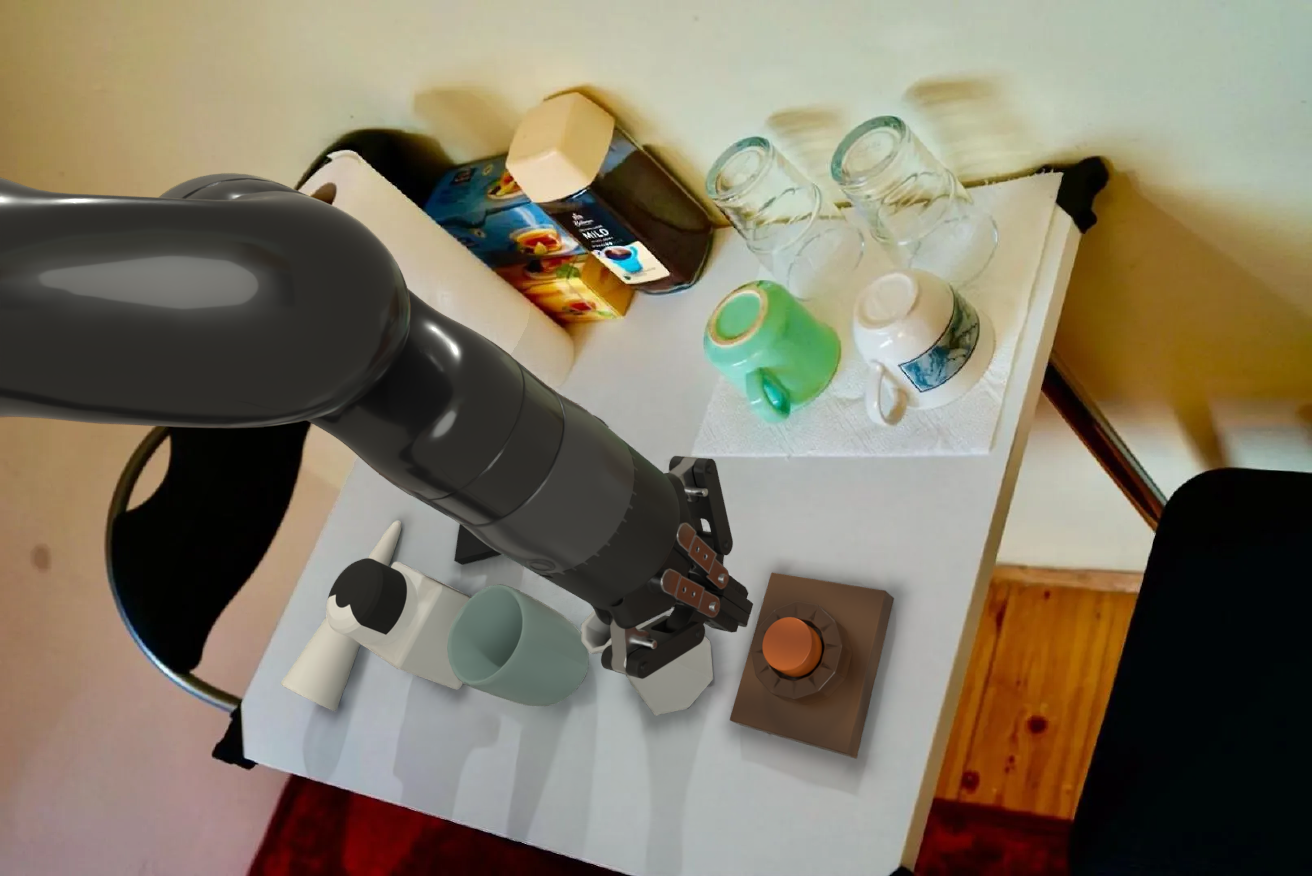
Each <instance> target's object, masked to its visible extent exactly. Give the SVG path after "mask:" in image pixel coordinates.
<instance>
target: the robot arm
mask: <svg viewBox="0 0 1312 876" xmlns="http://www.w3.org/2000/svg"><path fill="white" fill-rule="evenodd" d="M3 418H30V419H45V420H57V421H66V422H76V423H86V424H99V425H100V424H101V425H123V426H124V425H125V426H126V425H127V426H146V427H147V426H149V427H165V428H166V427H170V428H192V429H194V428H195V429H248V428H264V427H274V426H281V425H287V424H295V423H300V422H303V421H307V422H308V423H311V424H312V425H313V426H316V427H317V428H319V429H321V430H323V431H324V432H326V433H328V434H330V435H331V436H333V437H334V438H335V439H337V440H338V441H340V442H341V443H342V444H344V445H345V446H346V447H347V448H349V449H350V450H351V451H352V452H353V453H354V454H355V455H357V457H359V458H360V459H361V460H362V461H363V462H364V463H365V464H366V465H368V466H369V467H370V468H371V469H372V470H373V471H374V472H376V473H377V474H378V475H379V474H380V475H379V476H380V477H382V478H384V479H385V480H386V481H388V482H389V483H390V484H391V485H393V486H394V487H396V488H398V489H399V490H401V491H403V492H404V493H405V494H407V495H408V496H411V497H413V498H415V499H417V500H418V501H420V502H422V503H424V504H425V505H427V506H429V507H431V508H432V509H433V510H436V511H438V512H439V513H441V514H443V515H445V516H447V517H448V518H450V519H452V520H454V522H457V523H458V524H459V525H460V524H461V525H462V526H464V527H465V528H466V529H468V530H469V531H470V532H471V533H472V534H473V535H474V536H476V537H477V538H478V539H479V540H481V541H482V542H483V543H485V544H486V545H488V546H489V547H491V548H492V549H494V550H495V551H497V552H499V553H501V554H502V556H504V557H506V558H508V559H510V560H511V561H513V562H515V563H517V564H518V565H520V566H522V567H524V568H525V569H527V570H529V571H531V572H533V573H534V574H536V575H538V576H540V577H542V578H543V579H545V580H547V581H549V582H550V583H552V584H554V585H555V586H558V587H560V588H561V589H563V590H565V591H566V592H568V593H570V594H571V595H573V596H575V597H577V598H579V599H581V600H582V601H584V602H586V603H587V604H589V605H590V606H591V607H592V609H593V610H595V613H596V615H597V617H598V618H599V620H600V621H601V622H603V623H604V624H606V625H610V631H611V642H612V644H611V645H609V646H608V647H606V648H605V649H604V651H603V653H601V656H600V664H601V666H602V668H603V669H605V670H608V671H613V672H615V673H618V674H622V675H625V676H626V675H628V676H633V677H637V678H640V679H644V678H646V677H648V676H649V675H651V674H652V673H654V672H656V671H657V670H659V669H660V668H662V667H664V666H665V665H667V664H669V663H670V662H672V661H673V660H675V659H677V658H678V657H680V656H681V655H683V654H685V653H686V652H688V651H689V650H691V649H693V648H694V647H696V646H698V645H699V644H701V642H702V641H703V639H704V636H705V635H706V627H705V625H706V626H708V627H709V628H711V629H714V630H718V631H723V632H727V633H737V632H738V629H739V627H741V628H742V627H743V628H747V627H748V623H749V620H750V617H751V613H752V611H753V607H754V603H753V601H751V600H750V599H748V597H749V591H748V590H747V587H746V586H745V585H744V584H742V583H741V582H740V581H738V580H737V579H735V578H734V577H733V576H731V575H730V572H729V570H728V569H727V568H726V566H725V565H724V559H725V556H728V555H730V554H731V552H732V550H733V547H734V539H733V535H732V530H731V526H730V521H729V518H728V517H729V516H728V512H727V508H726V504H725V503H726V502H725V498H724V495H723V489H722V485H721V481H720V476H719V473H718V472H719V471H718V467H717V463H716V460H714V458H710V457H709V458H708V457H696V456H695V457H694V456H686V455H685V456H683V455H674V456H672V457H671V458H670V460H669V463H668V471H667V472H663V471H662V470H661V469H660V468H659V467H657V466H655V464H653V463H652V462H651V461H650V460H648V459H647V457H645V456H644V455H642V454H641V452H639V451H637V449H635V448H634V447H633V446H632V445H630V444H629V443H628V442H626V440H624V439H623V438H622V437H620V436H619V435H618V434H617V433H616V432H614V431H613V430H612V429H611V428H610V427H609V425H608V424H607V423H606V422H605V421H604V420H603V419H602V418H600V417H598V416H597V415H594V414H592V413H591V412H590V411H589V410H588V409H586V408H585V407H583V406H581V405H580V404H578V403H576V402H575V401H573V400H572V399H570V398H568V397H566V396H564V395H562V394H560V393H559V392H557V391H556V390H555V389H553V388H552V387H550V386H548V384H546V383H545V382H544V381H542V380H541V379H540V378H539V377H538V376H536V375H535V374H534V373H532V372H531V371H530V370H529V369H527V367H525V366H524V365H522V363H520V362H519V361H518V360H517V359H515V358H514V357H513V356H512V354H510V353H509V352H507V351H506V350H504V349H503V348H502V347H500V346H499V345H498V344H496V343H495V342H494V341H492V340H490V339H489V338H488V337H485V336H484V335H482V334H481V333H479V332H477V331H475V330H473V329H472V328H470V327H468V326H466V325H464V324H462V323H460V322H458V321H457V320H454V319H453V318H450V317H448V316H447V315H445V314H443V313H442V312H439V311H438V310H436V309H435V308H434V307H432V306H431V305H430V304H428V303H426V302H425V301H424V300H423V299H421V298H420V297H419V296H418V295H416V294H415V293H414V292H413V291H412V290H411V289H409V288H408V285H407V282H406V280H405V277H404V274H403V272H402V270H401V268H400V266H399V264H398V262H397V261H396V259H395V257H394V256H393V254H392V253H391V251H390V250H389V249H388V248H387V245H385V244H384V242H382V240H381V239H380V238H379V237H378V236H377V235H376V234H375V233H374V232H373V231H372V230H370V228H368V226H366V225H365V223H363V222H361V221H360V220H359V219H357V218H356V217H354V216H352V215H351V214H349V213H348V212H346V211H344V210H343V209H341V208H338V207H337V206H334V205H332V204H330V203H329V202H328V203H327V202H325V201H323V200H321V199H318V198H315V197H313V196H311V195H308V194H306V193H303V192H301V191H299V190H297V189H294V188H292V187H290V186H287V185H285V184H283V183H280V182H279V181H275V180H272V179H270V178H266V177H261V176H259V175H254V174H248V173H237V172H221V173H213V174H212V173H211V174H207V175H201V176H197V177H194V178H190V179H187V180H185V181H181V182H180V183H178V184H176V185H174V186H172V187H170V188H169V189H168V190H166V191H165V192H163V193H161V195H160V196H158V197H156V196H135V195H114V194H113V195H112V194H90V193H89V194H88V193H69V192H68V193H67V192H58V191H49V190H44V189H38V188H35V187H31V186H27V185H25V184H21V183H19V182H16V181H13V180H10V179H7V178H4V177H1V176H0V419H3ZM702 520H705V521H706V522H707V523H708V525H709V531H707V530H704V527H703V522H702ZM671 609H672V611H671V612H670V614H669V615H667V614H665V615H662V614H664V613H666V612H668V611H670V610H671ZM661 615H662V616H661ZM659 616H660V617H659ZM656 617H659V618H656ZM654 618H656V619H655V620H653V621H650V620H652V619H654ZM649 621H650V622H651V623H649V624H648V625H646V626H644V627H642V628H640V629H637V628H636V626H638V625H640V624H642V623H644V622H649ZM704 624H705V625H704ZM705 637H706V636H705Z"/></svg>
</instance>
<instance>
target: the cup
mask: <svg viewBox="0 0 1312 876" xmlns="http://www.w3.org/2000/svg"><path fill="white" fill-rule="evenodd" d="M470 597H471V598H470V599H469V600H468V601H467V602H466V603H465V605H464V606H463V607H462V608H461V610H460V611H459V612H458V614H457V616H456V617H455V619H454V621H453V623H452V626H451V628H450V632H449V636H448V644H447V651H448V659H449V663H450V666H451V668H452V670H453V672H454V674H455V675H456V677H457V678H458V679H459V680H460V681H462V682H463V684H464V685H466V686H468V687H470V688H471V689H475V690H476V691H480V692H483V693H485V694H487V695H491V696H494V697H496V698H499V699H503V700H505V701H508V702H512V703H515V704H518V705H523V706H529V707H549V706H553V705H557V704H559V703H561V702H563V701H565V700H567V699H568V698H569V697H570V696H572V695H573V694H574V693H575V692H576V691H577V690H578V688H580V686H581V685H582V683H583V681H584V680H585V678H586V675H587V674H588V673H587V672H588V670H589V665H590V654H589V653H590V652H589V651H588V649H587V648H586V647H585V645H584V644H583V643H582V641H581V631H580V630H579V628H578V627H577V626H576V625H575V624H574V623H573V622H572V621H571V620H570V618H567V617H566V616H565V615H564V614H562V613H561V612H559V611H558V610H557V609H555V608H552V606H549V605H548V604H546V603H544V602H543V601H540V600H539V599H537V598H535V597H533V596H531V595H530V594H527V593H525V592H523V591H521V590H519V589H517V588H515V587H513V586H510V585H506V584H501V583H500V584H492V585H490V586H487V587H484V588H483V589H481V590H479V591H477V592H476V593H475V594H474V595H473V596H470Z"/></svg>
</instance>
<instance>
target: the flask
mask: <svg viewBox="0 0 1312 876" xmlns="http://www.w3.org/2000/svg"><path fill="white" fill-rule="evenodd" d="M651 622H652V621H646V622H644V623H642V624H640V625H638V626H636V628H637V629H640V628H642V627H644V626H646V625H648V624H649V623H651ZM580 633H581V641H582V643H583V644H584V645H585V647H586V648H587V649H588V653H590V654H591V655H598V654H602V653H603V651H604V649H605V648H606V647H608V646H609V645H611V644H612V642H611V631H610V625H606V624H604V623H603V622H601V621H600V620H599V618H598V617H597V615H596V613H595V610H594V609H593V610H592V611H591V612H590V613H589V614H588V616H587V617H586V618H585V619H584V620H583V621H582V623H581V631H580ZM713 672H714V671H713V661H712V647H711V641H710V640H709V639H708V638H707V636H704V639H703V641H702V642H701V644H699V645H698V646H696V647H694V648H693V649H691V650H689V651H688V652H686V653H685V654H683V655H681V656H680V657H678V658H677V659H675V660H673V661H672V662H670V663H669V664H667V665H665V666H664V667H662V668H660V669H659V670H657V671H656V672H654V673H652V674H651V675H649V676H648V677H646V678H644V679H640V678H637V677H633V676H628V675H625V677H626V678H627V680H628V682H629V683H630V685H631V686H632V688H633V689H634V690H635V691H636V693H637V694H638V695H639V697H640V698H641V700H643V702H644V703H645V704H646V705H647V707H648V708H649V709H650V711H651V712H652V714H654V717H655V716H656V717H657V716H661V715H664V714H669V713H674V712H677V711H682V710H687V709H689V708H690V706H691V705H692V704H693V703H695V701H696V700H697V698H699V696H700V695H701V694H702V693H703V692H704V690H705V689H706V688H707V687H708V686H709V685H710V683H711V682H712V681H713V680H714V674H713Z"/></svg>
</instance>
